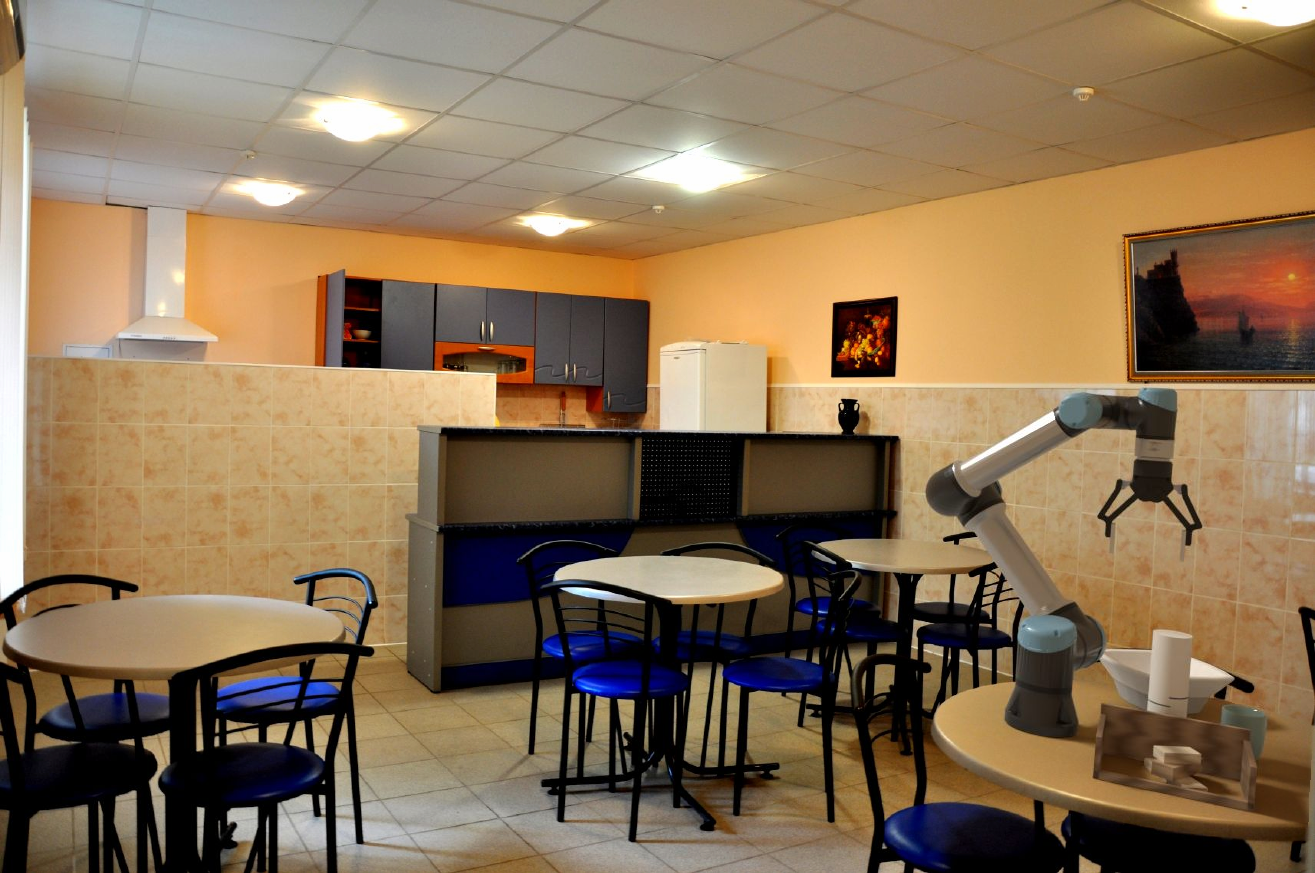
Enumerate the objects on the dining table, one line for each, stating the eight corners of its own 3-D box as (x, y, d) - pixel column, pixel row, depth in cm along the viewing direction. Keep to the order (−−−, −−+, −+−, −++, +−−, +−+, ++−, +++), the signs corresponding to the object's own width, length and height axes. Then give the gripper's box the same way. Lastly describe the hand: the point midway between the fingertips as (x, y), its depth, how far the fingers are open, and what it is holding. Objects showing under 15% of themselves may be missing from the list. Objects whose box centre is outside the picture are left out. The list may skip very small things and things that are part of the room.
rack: (1092, 777, 181) (1096, 725, 180) (1097, 750, 196) (1101, 702, 195) (1253, 812, 169) (1258, 756, 168) (1245, 780, 184) (1250, 729, 183)
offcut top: (1189, 757, 183) (1189, 746, 183) (1200, 764, 179) (1201, 754, 179) (1153, 755, 183) (1153, 745, 183) (1163, 763, 179) (1164, 752, 179)
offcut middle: (1181, 763, 186) (1182, 751, 186) (1202, 771, 183) (1203, 758, 183) (1151, 773, 180) (1152, 760, 180) (1172, 781, 177) (1173, 768, 177)
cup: (1209, 753, 198) (1213, 705, 197) (1235, 749, 201) (1239, 702, 200) (1245, 767, 190) (1250, 718, 190) (1271, 763, 193) (1275, 715, 193)
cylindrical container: (1188, 762, 192) (1198, 639, 190) (1150, 757, 193) (1159, 636, 192) (1176, 749, 199) (1185, 631, 197) (1139, 745, 200) (1148, 627, 199)
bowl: (1081, 687, 241) (1084, 647, 240) (1174, 689, 243) (1177, 650, 243) (1140, 720, 216) (1143, 676, 216) (1242, 722, 219) (1245, 678, 219)
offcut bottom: (1143, 770, 188) (1144, 757, 188) (1163, 771, 188) (1164, 758, 188) (1185, 800, 174) (1186, 787, 174) (1206, 801, 174) (1207, 788, 174)
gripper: (1089, 455, 208) (1082, 551, 209) (1221, 464, 197) (1213, 566, 198) (1091, 454, 215) (1084, 547, 216) (1219, 463, 203) (1211, 561, 204)
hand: (1145, 556), depth 207 cm, fingers open, 13 cm apart
